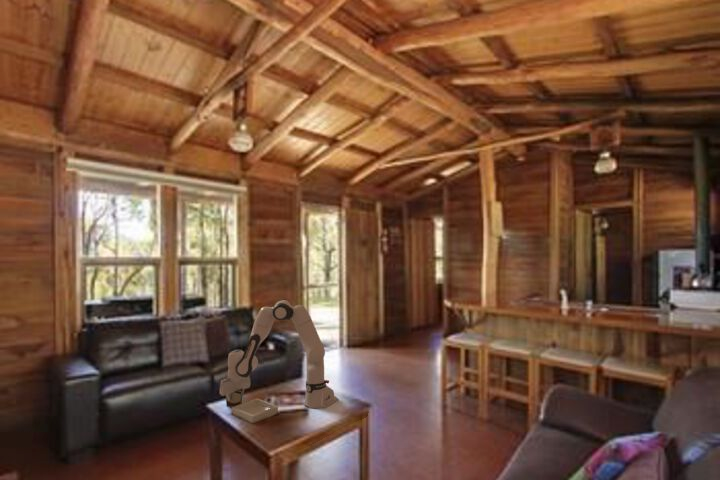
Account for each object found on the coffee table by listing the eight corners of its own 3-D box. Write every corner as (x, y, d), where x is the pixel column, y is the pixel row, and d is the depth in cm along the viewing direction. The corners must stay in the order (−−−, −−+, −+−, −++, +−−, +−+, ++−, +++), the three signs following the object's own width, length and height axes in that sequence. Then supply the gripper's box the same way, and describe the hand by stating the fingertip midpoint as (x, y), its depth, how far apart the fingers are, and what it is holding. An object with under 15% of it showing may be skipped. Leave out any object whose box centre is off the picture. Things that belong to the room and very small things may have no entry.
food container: (247, 404, 258) (247, 388, 258) (242, 408, 252) (242, 391, 252) (230, 402, 261) (230, 386, 261) (224, 405, 255) (224, 389, 255)
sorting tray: (257, 404, 257) (257, 398, 257) (277, 413, 244) (277, 406, 244) (231, 414, 243) (231, 407, 243) (252, 423, 230) (252, 416, 230)
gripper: (223, 381, 246) (223, 404, 246) (251, 373, 262) (251, 395, 262) (217, 379, 250) (217, 402, 250) (246, 371, 266) (246, 392, 266)
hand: (235, 398), depth 256 cm, fingers closed on food container, 6 cm apart
